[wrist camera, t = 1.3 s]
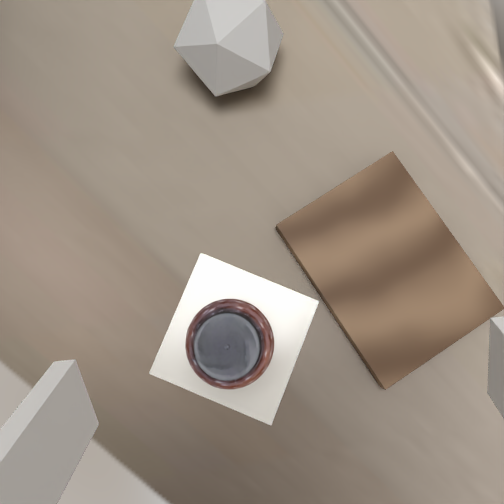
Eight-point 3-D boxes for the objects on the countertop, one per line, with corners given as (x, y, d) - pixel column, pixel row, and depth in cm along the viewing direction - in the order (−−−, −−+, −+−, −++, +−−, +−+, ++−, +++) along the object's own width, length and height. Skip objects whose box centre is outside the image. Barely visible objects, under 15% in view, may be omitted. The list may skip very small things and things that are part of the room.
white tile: (149, 373, 37) (148, 373, 37) (200, 253, 39) (200, 252, 39) (271, 425, 37) (271, 425, 37) (318, 301, 38) (319, 301, 38)
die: (291, 43, 42) (247, -64, 35) (300, 96, 37) (251, -18, 30) (215, 78, 45) (160, -15, 38) (214, 132, 40) (150, 36, 33)
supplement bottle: (256, 291, 38) (258, 281, 27) (280, 358, 37) (293, 377, 26) (190, 315, 38) (164, 316, 27) (213, 383, 37) (197, 414, 26)
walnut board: (275, 228, 39) (276, 224, 38) (387, 157, 40) (392, 151, 38) (380, 386, 37) (385, 389, 36) (494, 308, 38) (504, 308, 37)
